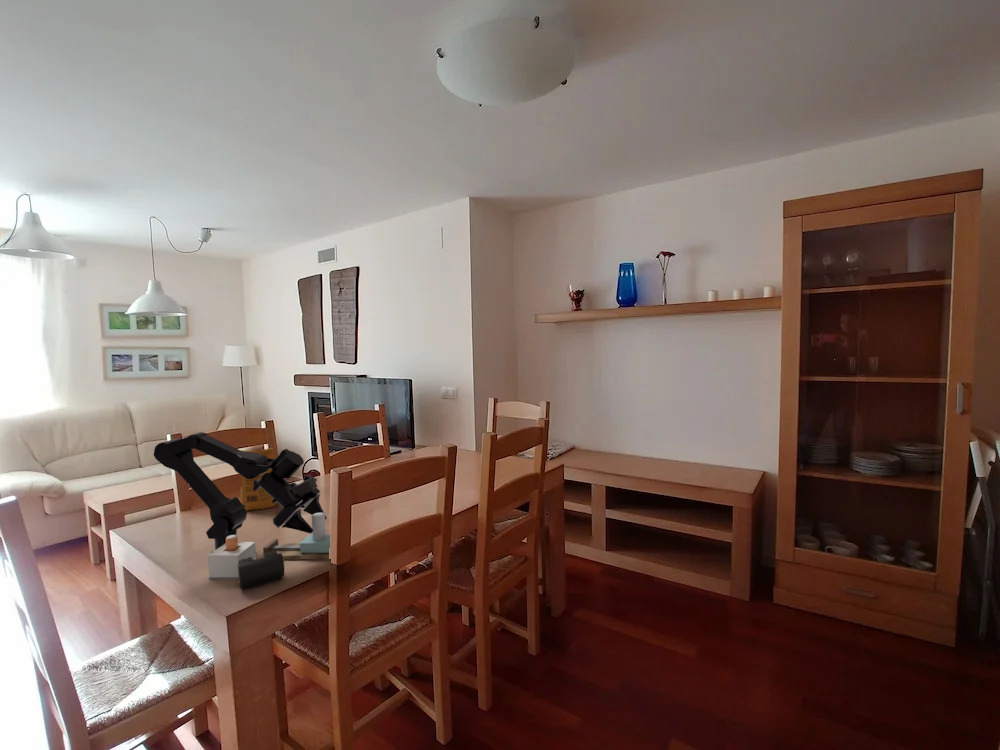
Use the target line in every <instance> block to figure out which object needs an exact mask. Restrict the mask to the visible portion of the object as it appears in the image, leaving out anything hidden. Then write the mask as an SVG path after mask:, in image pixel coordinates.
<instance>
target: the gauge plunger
mask: <svg viewBox="0 0 1000 750" xmlns="http://www.w3.org/2000/svg"><path fill="white" fill-rule="evenodd" d="M238 542H239V538H238V534H237V535H230V536H227V537H226V551H235V550H237V549H238Z"/></svg>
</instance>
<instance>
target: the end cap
mask: <svg viewBox="0 0 1000 750" xmlns="http://www.w3.org/2000/svg"><path fill="white" fill-rule="evenodd" d="M264 556H265V557H264ZM284 562H285V561H284V560H283V556H282V554H281V553H280V554H278V553H277V552H276V551H272V552H269V553H265V554H264V555H263V557H262V558H256V560H253V559H252V557H249V558H245V559H241V560H240V561H239V564H238V573H239V574H238V575H239V580H238V588H239V589H240V590H242V591H243V590H244V591H245V590H248V589H251V588H254V587H258V586H261V585H264V584H268V583H271V582H275V581H276V582H277V581H279V580H281V579H282V578H283V577H284V576H285V563H284Z"/></svg>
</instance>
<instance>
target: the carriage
mask: <svg viewBox="0 0 1000 750" xmlns="http://www.w3.org/2000/svg"><path fill="white" fill-rule="evenodd" d="M325 515H326V513H325V512H324V513H315V514H313V515H311V528H312V529H313V532H312V534H308V535H307V536H306V537H304V539H303V540H302V541H301V542H299V543H300V553H329V548H330V535H331V534H327V529H326V528H327V526H326V520H325Z"/></svg>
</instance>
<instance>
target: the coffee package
mask: <svg viewBox="0 0 1000 750" xmlns="http://www.w3.org/2000/svg"><path fill="white" fill-rule="evenodd" d="M244 451H245V452H254V453H258V454H262V455H265V456H266V457H267V458H272V459H274V453H275V452H274V448H273V447H270V448H266V449H260V450H244ZM271 471H272V469H270V470H268V471H266V472H265V473H270V472H271ZM265 473H263V474H261V475H259V476H257V477H255V478H253V479H247V478H245V477H243V476H242V475H241V485H240V490H239V495H240V502H241V503H242V504H243V505H245V506H246V507H244V508H245V509H246V511H247V512H248V511H252V510H253V511H254V510H256V511H259V510H258V509H262V510H265V508H266V509H269V508H274V507H276V505H277V502H276V503H275V504H274V503H273V502H272V500H273V498H272V497H271V496H270V495H269V494H268V493H267V492H266V491H265V490H264V489H263V488H262V487H261V488H259V489H258V490H256V491H254V490H253V487H254V483H253V482H254V481H255V480H257V479H260V478H261V477H262V476H263V475H264V474H265Z"/></svg>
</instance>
